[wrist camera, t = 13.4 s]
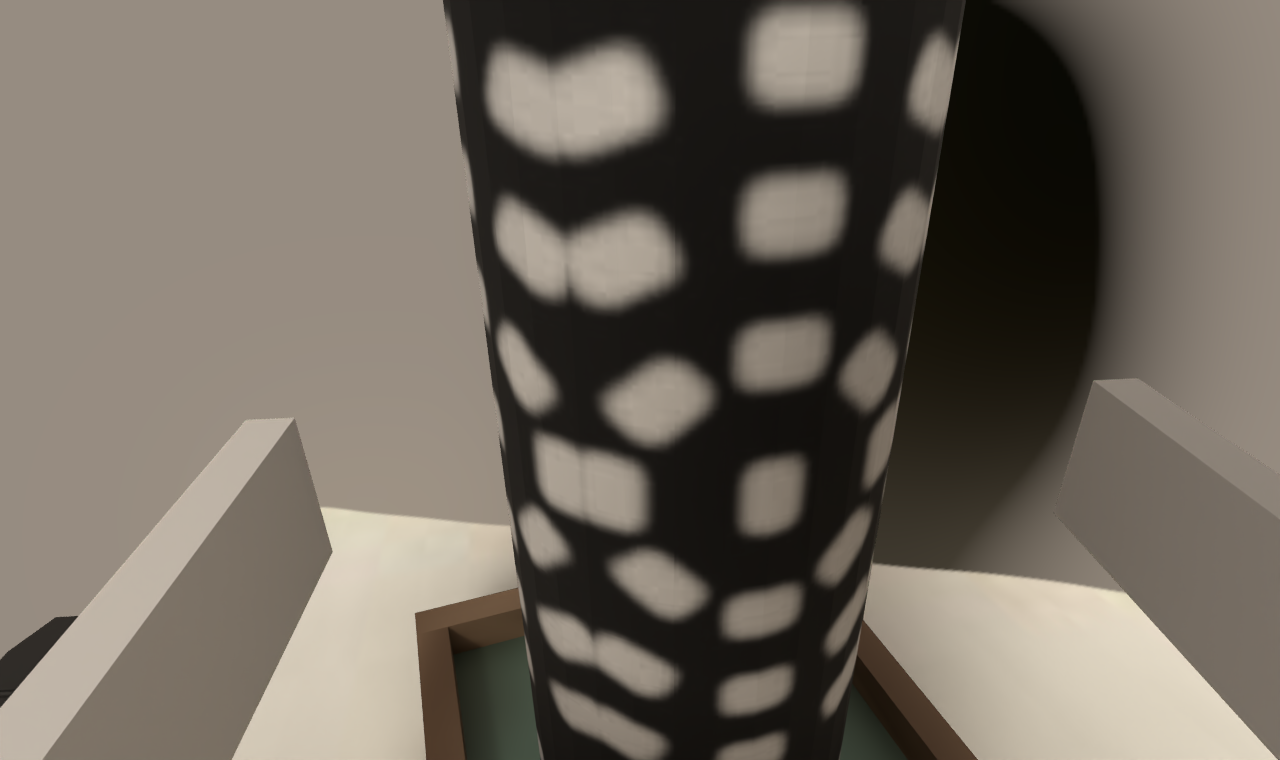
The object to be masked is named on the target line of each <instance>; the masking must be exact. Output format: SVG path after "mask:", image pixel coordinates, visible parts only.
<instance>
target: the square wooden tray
mask: <svg viewBox="0 0 1280 760" xmlns="http://www.w3.org/2000/svg"><path fill="white" fill-rule="evenodd" d="M415 618H416V631H417V644H418V657H419V670H420V683H421V696H422V709H423V722H424V735H425V748H426V760H540V752H539V744H538V736H537V729H536V721H535V713H534V705H533V698H532V690H531V682H530V674H529V666H528V659H527V651H526V643H525V635H524V627H523V620H522V612H521V604H520V596H519V588H515V589H511V590H507V591H503V592H499V593H495V594H491V595H487V596H483V597H479V598H475V599H471V600H467V601H463V602H459V603H455V604H451V605H446V606H442V607H438V608H434V609H430V610H426V611H422V612H418V613H415ZM840 760H978V759H977V758H976V757H975V756H974V755H973V753H972V752H971V751H970V750H969V748H968V747H967V746H966V745H965V744H964V742H963V741H962V740H961V739H960V737H959V736H958V735H957V734H956V733H955V731H954V730H953V729H952V728H951V727H950V725H949V724H948V723H947V722H946V720H945V719H944V718H943V717H942V716H941V714H940V713H939V712H938V711H937V709H936V708H935V707H934V706H933V705H932V703H931V702H930V701H929V700H928V698H927V697H926V696H925V695H924V694H923V692H922V691H921V690H920V689H919V688H918V686H917V685H916V684H915V683H914V681H913V680H912V679H911V678H910V677H909V675H908V674H907V673H906V672H905V670H904V669H903V668H902V667H901V666H900V664H899V663H898V662H897V661H896V659H895V658H894V657H893V656H892V655H891V653H890V652H889V651H888V650H887V649H886V647H885V646H884V645H883V644H882V642H881V641H880V640H879V639H878V638H877V636H876V635H875V634H874V633H873V631H872V630H871V629H870V628H869V627H868V625H867V624H866V623H865V622H864V620H863V621H862V627H861V633H860V639H859V645H858V651H857V657H856V663H855V669H854V675H853V681H852V687H851V693H850V699H849V705H848V711H847V717H846V723H845V729H844V735H843V741H842V747H841V753H840Z"/></svg>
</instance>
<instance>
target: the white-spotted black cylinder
mask: <svg viewBox="0 0 1280 760" xmlns="http://www.w3.org/2000/svg"><path fill="white" fill-rule="evenodd" d="M965 1H966V0H443V4H444V12H445V19H446V27H447V35H448V43H449V50H450V58H451V66H452V74H453V81H454V90H455V97H456V105H457V113H458V121H459V129H460V136H461V144H462V152H463V159H464V168H465V175H466V183H467V191H468V198H469V206H470V214H471V222H472V229H473V237H474V245H475V253H476V261H477V269H478V277H479V284H480V292H481V300H482V307H483V316H484V323H485V331H486V338H487V347H488V355H489V362H490V370H491V378H492V386H493V393H494V401H495V409H496V417H497V425H498V433H499V440H500V448H501V456H502V463H503V471H504V479H505V487H506V495H507V502H508V510H509V518H510V526H511V534H512V542H513V549H514V557H515V565H516V573H517V581H518V588H519V596H520V604H521V612H522V620H523V627H524V635H525V643H526V651H527V659H528V666H529V674H530V682H531V690H532V698H533V705H534V713H535V721H536V729H537V736H538V744H539V752H540V760H840V753H841V747H842V741H843V735H844V729H845V723H846V717H847V711H848V705H849V699H850V693H851V687H852V681H853V675H854V669H855V663H856V657H857V651H858V645H859V639H860V633H861V627H862V621H863V615H864V609H865V603H866V597H867V591H868V585H869V579H870V573H871V567H872V561H873V555H874V548H875V543H876V537H877V530H878V525H879V519H880V513H881V506H882V501H883V495H884V489H885V482H886V476H887V471H888V465H889V458H890V453H891V446H892V440H893V434H894V428H895V422H896V416H897V410H898V404H899V398H900V392H901V386H902V380H903V374H904V368H905V362H906V356H907V350H908V344H909V338H910V332H911V326H912V320H913V314H914V308H915V302H916V296H917V290H918V284H919V277H920V272H921V266H922V260H923V253H924V247H925V242H926V236H927V230H928V224H929V217H930V212H931V206H932V199H933V194H934V187H935V182H936V175H937V169H938V164H939V158H940V152H941V146H942V139H943V133H944V127H945V121H946V115H947V109H948V103H949V97H950V90H951V85H952V79H953V73H954V67H955V61H956V55H957V48H958V43H959V37H960V31H961V25H962V19H963V13H964V7H965Z"/></svg>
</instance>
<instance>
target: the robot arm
mask: <svg viewBox="0 0 1280 760" xmlns="http://www.w3.org/2000/svg"><path fill="white" fill-rule="evenodd" d="M1054 514H1055V515H1056V516H1057V517H1058V518H1059V520H1060V521H1061V522H1062V523H1063V524H1064V525H1065V526H1066V527H1067V528H1068V529H1069V531H1071V533H1072V534H1073V535H1074V536H1075V537H1076V538H1077V539H1078V540H1079V542H1080V543H1081V544H1082V545H1083V546H1084V547H1085V548H1086V549H1087V550H1088V551H1089V553H1090V554H1092V556H1093V557H1094V558H1095V559H1096V560H1097V561H1098V562H1099V564H1100V565H1101V566H1102V567H1103V568H1104V569H1105V570H1106V571H1107V572H1108V573H1109V574H1110V575H1111V577H1112V578H1113V579H1114V580H1115V581H1116V582H1117V583H1118V584H1119V586H1120V587H1121V588H1122V589H1123V590H1124V591H1125V592H1126V593H1127V594H1128V595H1129V597H1130V598H1131V599H1132V600H1133V601H1134V602H1135V603H1136V604H1137V605H1138V606H1139V608H1140V609H1141V610H1142V611H1143V612H1144V613H1145V614H1146V615H1147V616H1148V617H1149V619H1150V620H1151V621H1152V622H1153V623H1154V624H1155V625H1156V626H1157V627H1158V628H1159V630H1160V631H1161V632H1162V633H1163V634H1164V635H1165V636H1166V637H1167V638H1168V639H1169V641H1170V642H1171V643H1172V644H1173V645H1174V646H1175V647H1176V648H1177V649H1178V650H1179V652H1180V653H1181V654H1182V655H1183V656H1184V657H1185V658H1186V659H1187V660H1188V661H1189V663H1190V664H1191V665H1192V666H1193V667H1194V668H1195V669H1196V670H1197V671H1198V672H1199V674H1200V675H1201V676H1202V677H1203V678H1204V679H1205V680H1206V681H1207V682H1208V683H1209V685H1210V686H1211V687H1212V688H1213V689H1214V690H1215V691H1216V692H1217V693H1218V694H1219V696H1220V697H1221V698H1222V699H1223V700H1224V701H1225V702H1226V703H1227V704H1228V705H1229V707H1230V708H1231V709H1232V710H1233V711H1234V712H1235V713H1236V714H1237V715H1238V716H1239V718H1240V719H1241V720H1242V721H1243V722H1244V723H1245V724H1246V725H1247V726H1248V727H1249V728H1250V730H1251V731H1252V732H1253V733H1254V734H1255V735H1256V736H1257V737H1258V738H1259V739H1260V741H1261V742H1262V743H1263V744H1264V745H1265V746H1266V747H1267V748H1268V749H1269V750H1270V752H1271V753H1272V754H1273V755H1274V756H1275V757H1276V758H1277V759H1278V760H1280V475H1279V474H1278V473H1276V472H1275V471H1273V470H1272V469H1271V468H1269V467H1268V466H1266V465H1265V464H1263V463H1262V462H1260V461H1259V460H1257V459H1256V458H1254V457H1253V456H1251V455H1250V454H1248V453H1247V452H1245V451H1244V450H1242V449H1241V448H1240V447H1238V446H1237V445H1235V444H1234V443H1232V442H1231V441H1229V440H1228V439H1226V438H1225V437H1223V436H1222V435H1220V434H1219V433H1217V432H1216V431H1215V430H1213V429H1212V428H1210V427H1209V426H1207V425H1206V424H1204V423H1203V422H1201V421H1200V420H1198V419H1197V418H1196V417H1194V416H1193V415H1191V414H1190V413H1188V412H1187V411H1185V410H1184V409H1182V408H1181V407H1179V406H1178V405H1176V404H1175V403H1173V402H1172V401H1171V400H1169V399H1168V398H1166V397H1165V396H1163V395H1161V394H1160V393H1159V392H1157V391H1156V390H1154V389H1153V388H1151V387H1150V386H1148V385H1147V384H1145V383H1144V382H1142V381H1141V380H1139V379H1138V378H1134V379H1114V380H1093V384H1092V387H1091V390H1090V394H1089V397H1088V400H1087V403H1086V406H1085V410H1084V413H1083V416H1082V420H1081V423H1080V426H1079V430H1078V433H1077V436H1076V440H1075V443H1074V446H1073V450H1072V453H1071V457H1070V460H1069V463H1068V466H1067V469H1066V473H1065V476H1064V479H1063V483H1062V486H1061V489H1060V493H1059V496H1058V499H1057V503H1056V506H1055V509H1054ZM331 554H332V548H331V544H330V541H329V537H328V534H327V530H326V527H325V523H324V520H323V516H322V513H321V509H320V506H319V502H318V499H317V495H316V492H315V488H314V484H313V481H312V477H311V474H310V470H309V467H308V463H307V460H306V457H305V453H304V449H303V446H302V442H301V439H300V435H299V431H298V428H297V425H296V421H295V418H280V419H259V420H246V421H245V422H244V423H243V424H242V425H241V426H240V428H239V429H238V430H237V431H236V432H235V433H234V435H233V436H232V437H231V438H230V439H229V440H228V442H227V443H226V444H225V445H224V446H223V448H222V449H221V450H220V451H219V452H218V453H217V455H216V456H215V457H214V458H213V459H212V460H211V462H210V463H209V464H208V465H207V466H206V468H205V469H204V470H203V471H202V472H201V473H200V475H199V476H198V477H197V478H196V479H195V480H194V482H193V483H192V484H191V485H190V486H189V487H188V489H187V490H186V491H185V492H184V493H183V494H182V496H181V497H180V498H179V499H178V500H177V501H176V503H175V504H174V505H173V506H172V507H171V508H170V510H169V511H168V512H167V513H166V514H165V516H164V517H163V518H162V519H161V520H160V521H159V523H158V524H157V525H156V526H155V527H154V528H153V530H152V531H151V532H150V533H149V534H148V535H147V537H146V538H145V539H144V540H143V541H142V543H141V544H140V545H139V546H138V547H137V548H136V549H135V551H134V552H133V553H132V554H131V556H129V558H128V559H127V560H126V561H125V562H124V564H123V565H122V566H121V567H120V568H119V569H118V571H117V572H116V573H115V574H114V575H113V576H112V578H111V579H110V580H109V581H108V582H107V584H106V585H105V586H104V587H103V588H102V589H101V590H100V592H99V593H98V594H97V595H96V596H95V598H94V599H93V600H92V601H91V602H90V603H89V605H88V606H87V607H86V608H85V609H84V610H83V612H82V613H81V614H80V615H79V616H71V617H56V618H54V619H53V620H51V621H50V622H49V623H47V624H46V625H44V626H43V627H42V628H40V629H39V630H38V631H36V632H35V633H33V634H32V635H31V636H29V637H28V638H26V639H25V640H23V641H22V642H21V643H19V644H18V645H17V646H15V647H14V648H12V649H11V650H10V651H8V652H7V653H6V654H5V656H4V657H2V659H1V660H0V760H232V758H233V756H234V754H235V751H236V749H237V747H238V745H239V743H240V741H241V739H242V737H243V735H244V733H245V731H246V729H247V727H248V725H249V723H250V721H251V719H252V716H253V714H254V712H255V710H256V708H257V706H258V704H259V702H260V700H261V698H262V696H263V694H264V692H265V690H266V688H267V686H268V684H269V681H270V679H271V677H272V675H273V673H274V671H275V669H276V667H277V665H278V663H279V661H280V659H281V657H282V655H283V653H284V651H285V649H286V646H287V644H288V642H289V640H290V638H291V636H292V634H293V632H294V630H295V628H296V626H297V624H298V622H299V620H300V618H301V616H302V614H303V611H304V609H305V607H306V605H307V603H308V601H309V599H310V597H311V595H312V593H313V591H314V589H315V587H316V585H317V583H318V581H319V579H320V577H321V574H322V572H323V570H324V568H325V566H326V564H327V562H328V560H329V558H330V556H331Z"/></svg>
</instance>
